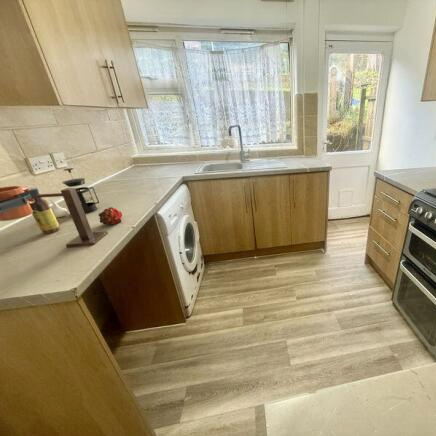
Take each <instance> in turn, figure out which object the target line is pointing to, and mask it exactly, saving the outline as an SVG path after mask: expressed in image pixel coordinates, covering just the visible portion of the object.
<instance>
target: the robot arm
mask: <svg viewBox="0 0 436 436" xmlns="http://www.w3.org/2000/svg"><path fill="white" fill-rule="evenodd" d="M34 198H37V194H36V192H35V190H29V191H26V192H24V191H23V193H21V194H18V195H15V197H11V198H7V199H3V200H0V213H2V212H5V211H8V210H11V209H14V208H17V207H20V206H25V205H26V204H28V203H27V201H28V202H29V200H32V199H34Z"/></svg>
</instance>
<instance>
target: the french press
mask: <svg viewBox="0 0 436 436" xmlns="http://www.w3.org/2000/svg"><path fill="white" fill-rule="evenodd" d="M72 170H73V171H74V170H75V168H74V167H70V168H65V169H63V171H67V172H68V174H69V175H70V177H71V179H68V180H64V181H62V184H63V185H65V186H66V187H67V188H75V190H76V192H77V195H78V197H79V200H80V202H81V205H82V207H83V210H84V213H85V215H87V214H91V213H93V211H94V212H96V211H97V210H98V207H97V205H96V204H100V200H99V197H98V195H97V193H96V191H95V189H94V187H93V186H89V187H88V186H83V187H80V186H82V185H85V184H86V181H85V180H86V179H85V177H84V178H83V177H81V178H74V177H73V174H72ZM78 186H79V187H78ZM90 189H92V192H93V193H94V195H95V198H96V202H95V200H94V197H93V195H92V193H91V190H90ZM88 192H89V194H90V196H87V197H84V195H83V194H85V193H88ZM90 201H91V202H90ZM90 212H91V213H90ZM86 213H87V214H86Z"/></svg>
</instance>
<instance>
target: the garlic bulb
mask: <svg viewBox="0 0 436 436" xmlns="http://www.w3.org/2000/svg"><path fill="white" fill-rule="evenodd" d="M51 204H52V207H53V210H52V212H53V214H54V216H55V218H56V219H58V218H61V217H64V216H66V215H68V214H69V210H67V209H68V208H67V209H66V208H65V207H61V206H60V205H58V204H57V202H56V201H54V200H53V201H51Z"/></svg>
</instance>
